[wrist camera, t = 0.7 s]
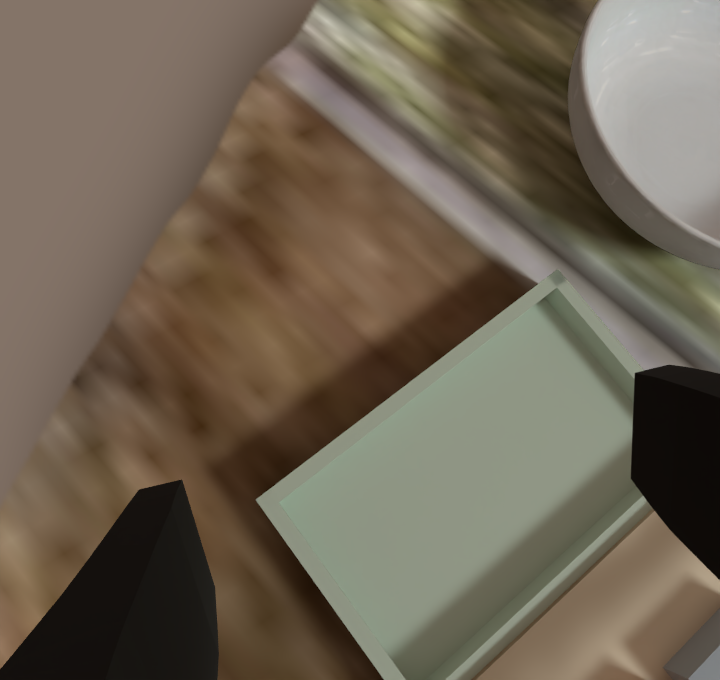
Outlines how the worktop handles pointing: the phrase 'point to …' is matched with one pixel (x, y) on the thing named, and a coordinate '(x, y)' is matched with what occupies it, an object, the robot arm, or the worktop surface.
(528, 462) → the box
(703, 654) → the slate tile
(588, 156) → the serving bowl
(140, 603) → the robot arm
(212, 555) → the worktop surface
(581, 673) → the birch board
